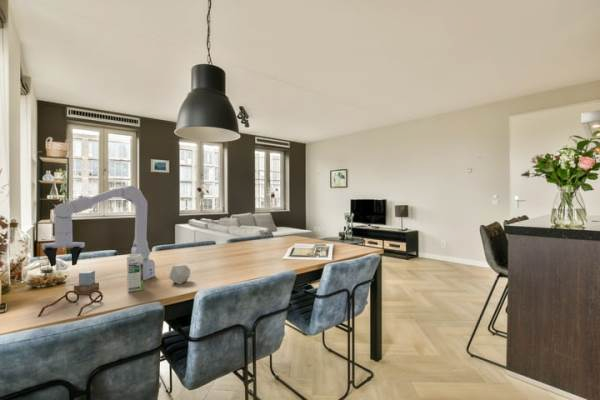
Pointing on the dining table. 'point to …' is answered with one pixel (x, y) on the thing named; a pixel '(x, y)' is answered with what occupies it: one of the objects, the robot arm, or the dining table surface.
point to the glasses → (76, 300)
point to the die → (179, 273)
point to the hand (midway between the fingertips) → (63, 265)
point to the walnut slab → (86, 287)
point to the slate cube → (86, 278)
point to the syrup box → (134, 272)
